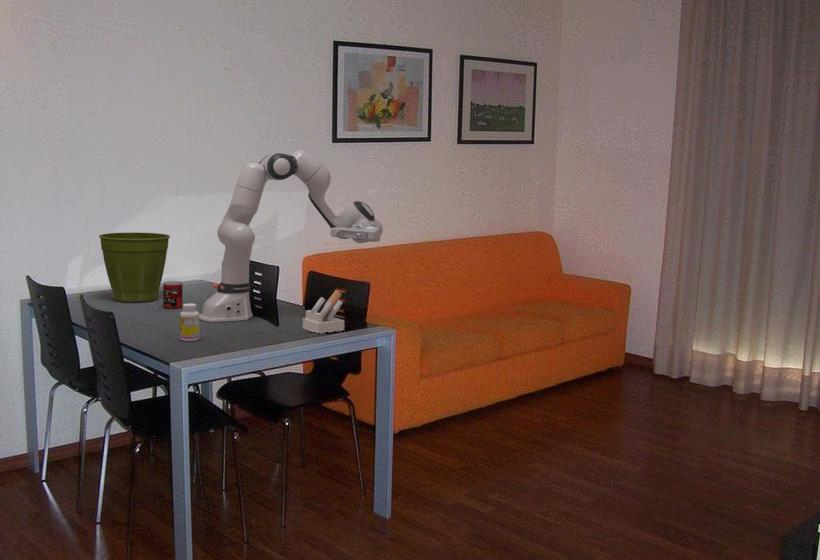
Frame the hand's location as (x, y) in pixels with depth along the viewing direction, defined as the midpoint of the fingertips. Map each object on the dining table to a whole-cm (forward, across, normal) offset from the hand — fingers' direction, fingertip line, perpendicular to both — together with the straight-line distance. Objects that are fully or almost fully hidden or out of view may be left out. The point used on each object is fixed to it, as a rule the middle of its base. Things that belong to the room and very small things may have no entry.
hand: (347, 234), depth 340 cm
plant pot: (+1, -102, +36) cm, 108 cm away
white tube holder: (+15, -2, +36) cm, 39 cm away
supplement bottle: (+56, -36, +36) cm, 75 cm away
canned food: (+9, -77, +36) cm, 85 cm away
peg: (+16, -3, +31) cm, 35 cm away
